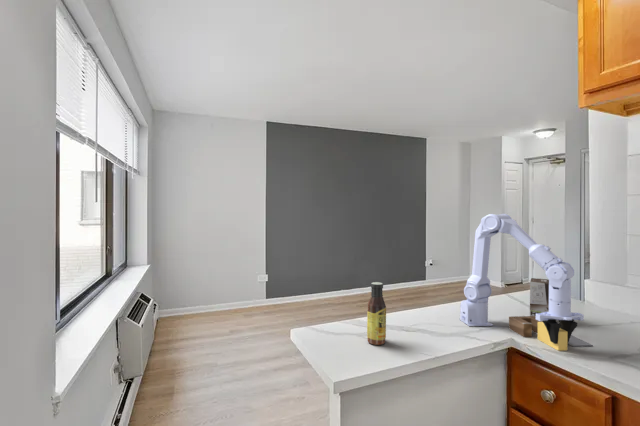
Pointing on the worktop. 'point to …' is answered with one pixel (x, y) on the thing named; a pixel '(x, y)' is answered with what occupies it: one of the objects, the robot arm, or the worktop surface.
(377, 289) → the sauce bottle
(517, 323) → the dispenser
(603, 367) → the worktop surface
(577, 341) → the mat
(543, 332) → the yellow bar
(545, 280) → the coffee box
